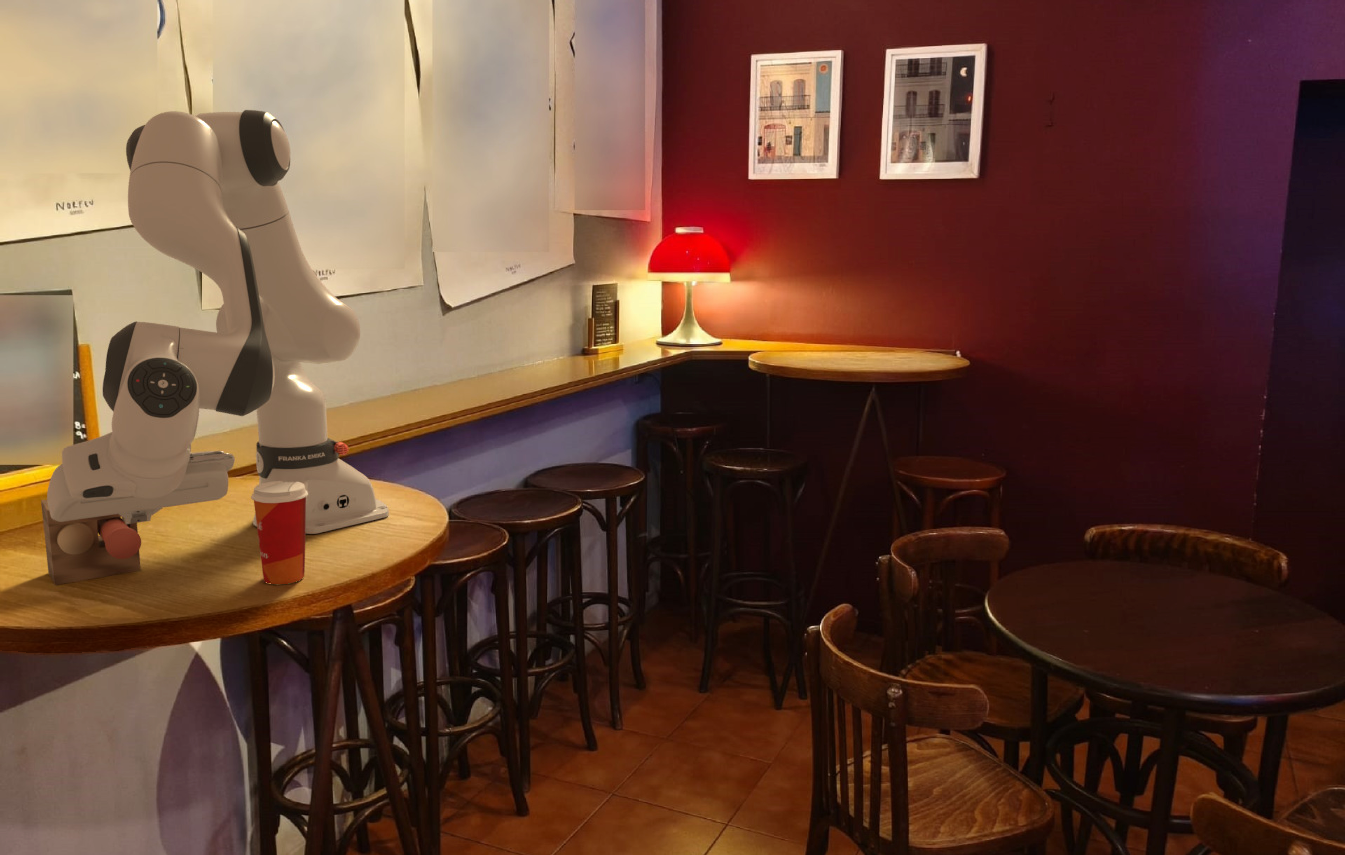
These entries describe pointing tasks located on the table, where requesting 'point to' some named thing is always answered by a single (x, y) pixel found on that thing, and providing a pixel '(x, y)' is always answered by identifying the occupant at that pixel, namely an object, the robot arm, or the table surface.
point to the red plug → (118, 538)
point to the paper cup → (281, 530)
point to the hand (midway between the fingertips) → (136, 518)
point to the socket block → (81, 550)
